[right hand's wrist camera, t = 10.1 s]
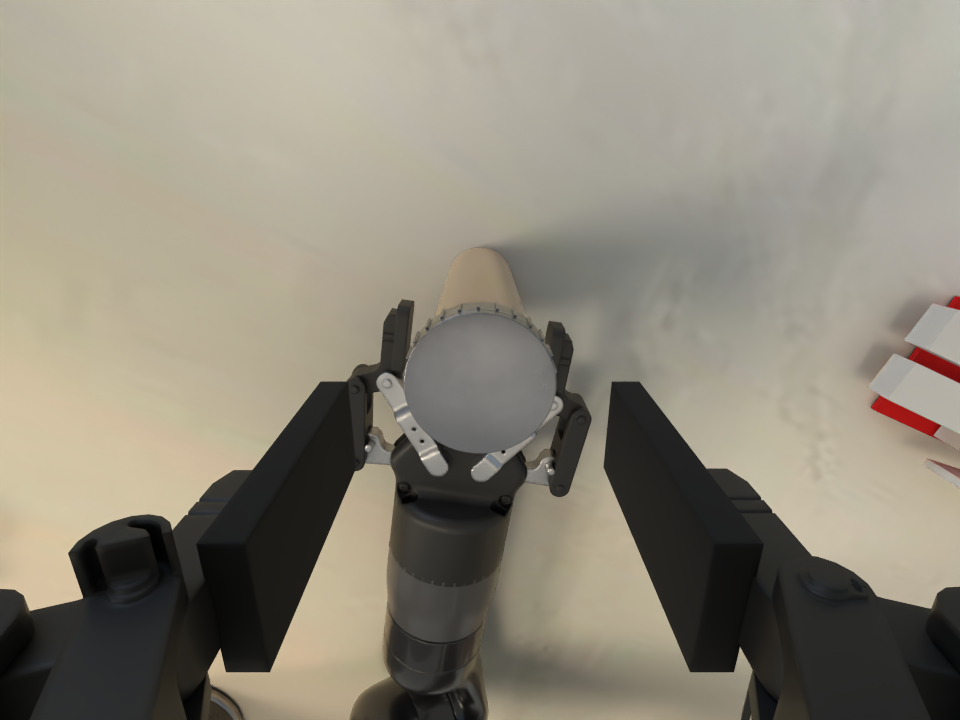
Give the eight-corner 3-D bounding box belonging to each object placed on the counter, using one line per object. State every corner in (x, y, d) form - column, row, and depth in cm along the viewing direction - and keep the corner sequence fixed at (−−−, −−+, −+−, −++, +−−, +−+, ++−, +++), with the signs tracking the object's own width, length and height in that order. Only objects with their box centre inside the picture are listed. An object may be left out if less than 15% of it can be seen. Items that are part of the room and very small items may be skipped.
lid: (432, 278, 17) (428, 287, 16) (575, 328, 18) (584, 341, 16) (389, 409, 19) (382, 429, 18) (521, 451, 20) (525, 473, 18)
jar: (460, 238, 34) (439, 303, 16) (521, 260, 34) (562, 345, 17) (439, 298, 35) (401, 416, 18) (498, 318, 35) (516, 452, 18)
